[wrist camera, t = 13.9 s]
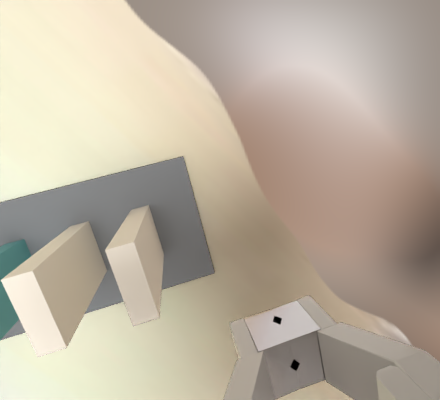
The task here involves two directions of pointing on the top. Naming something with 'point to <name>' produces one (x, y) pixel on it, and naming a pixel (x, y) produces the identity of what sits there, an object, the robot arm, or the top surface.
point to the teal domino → (4, 264)
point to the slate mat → (116, 221)
